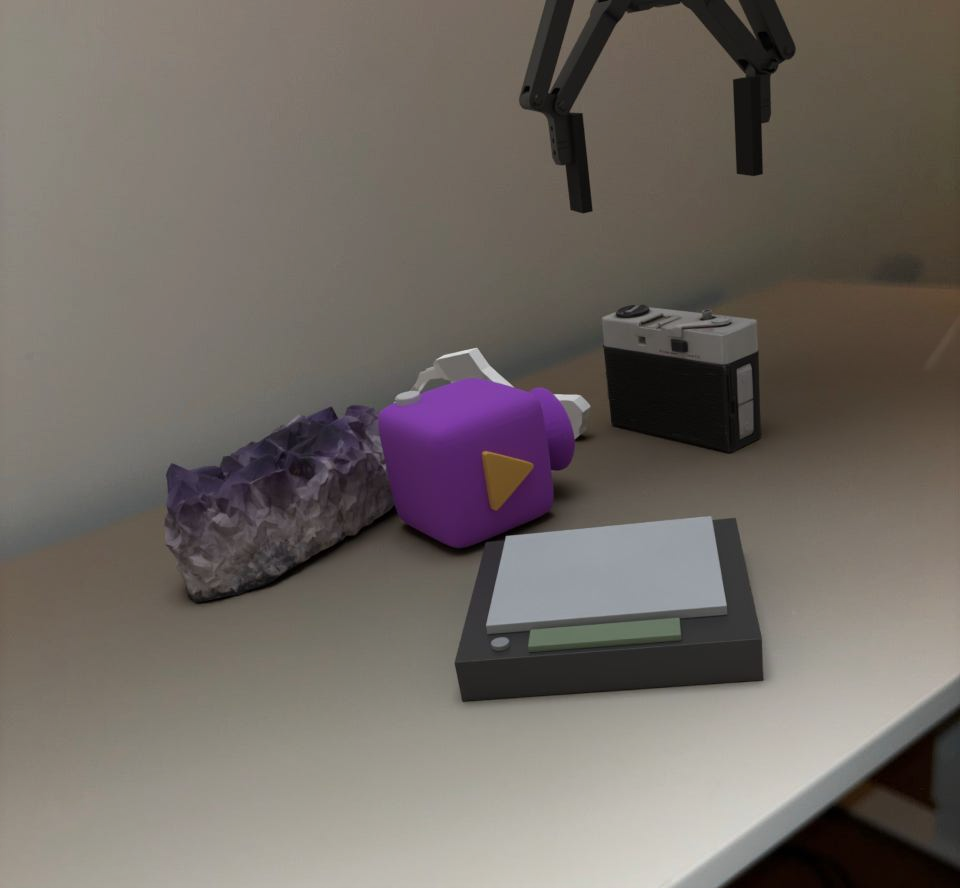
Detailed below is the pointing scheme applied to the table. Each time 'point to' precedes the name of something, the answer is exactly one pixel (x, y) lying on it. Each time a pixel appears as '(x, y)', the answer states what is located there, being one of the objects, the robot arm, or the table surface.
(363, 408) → the geode
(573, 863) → the table surface
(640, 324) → the camera
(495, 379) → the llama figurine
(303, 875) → the table surface
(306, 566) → the table surface
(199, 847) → the table surface
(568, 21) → the robot arm
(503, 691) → the scale
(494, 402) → the toy camera
